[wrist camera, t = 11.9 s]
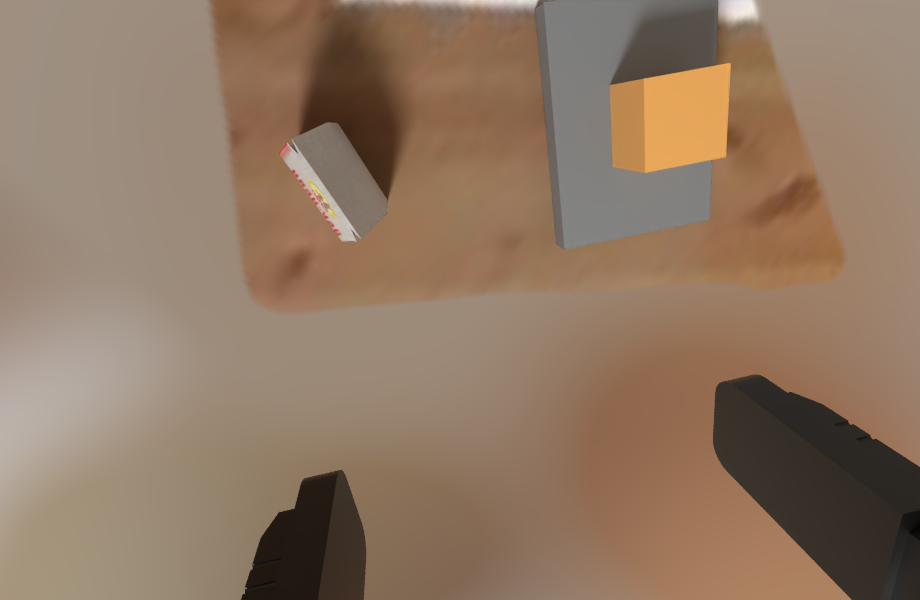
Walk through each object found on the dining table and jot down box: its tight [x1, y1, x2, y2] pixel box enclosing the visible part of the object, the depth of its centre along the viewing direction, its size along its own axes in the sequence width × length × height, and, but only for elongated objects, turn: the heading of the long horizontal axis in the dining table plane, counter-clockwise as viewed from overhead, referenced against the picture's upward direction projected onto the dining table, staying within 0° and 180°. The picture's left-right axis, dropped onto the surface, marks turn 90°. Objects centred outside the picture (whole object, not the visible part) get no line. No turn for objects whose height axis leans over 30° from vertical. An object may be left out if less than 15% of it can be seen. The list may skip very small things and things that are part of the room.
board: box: [535, 0, 718, 250], centre depth 34 cm, size 18×13×6 cm
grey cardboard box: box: [279, 122, 388, 242], centre depth 31 cm, size 4×7×10 cm, turn 30°
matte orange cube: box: [610, 63, 731, 173], centre depth 33 cm, size 6×6×5 cm
